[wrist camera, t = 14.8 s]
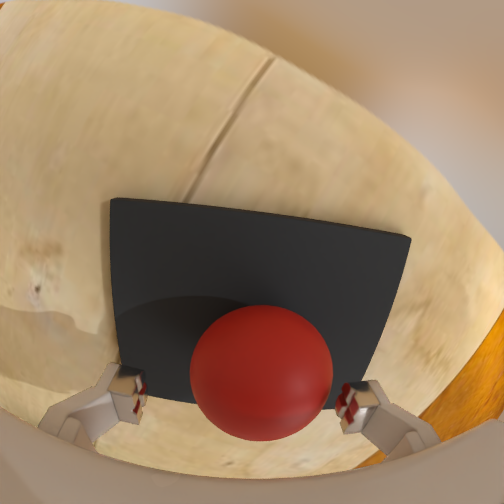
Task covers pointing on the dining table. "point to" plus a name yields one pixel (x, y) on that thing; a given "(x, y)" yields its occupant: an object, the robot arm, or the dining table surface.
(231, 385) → the red ball
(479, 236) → the dining table surface
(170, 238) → the mat
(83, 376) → the dining table surface
